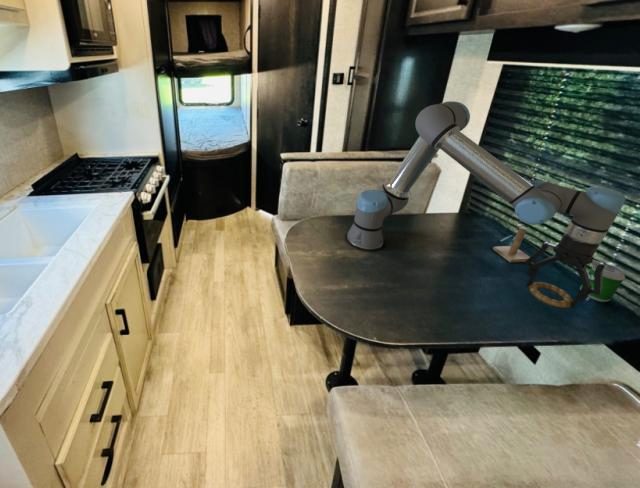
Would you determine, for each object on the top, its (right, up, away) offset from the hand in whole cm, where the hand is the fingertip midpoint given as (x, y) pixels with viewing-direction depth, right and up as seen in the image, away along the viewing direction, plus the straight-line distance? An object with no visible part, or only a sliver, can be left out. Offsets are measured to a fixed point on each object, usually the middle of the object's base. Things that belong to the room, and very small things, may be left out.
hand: (550, 294), depth 102 cm
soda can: (+24, -4, +9) cm, 26 cm away
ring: (0, 0, 0) cm, 0 cm away
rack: (+13, +6, +30) cm, 33 cm away
